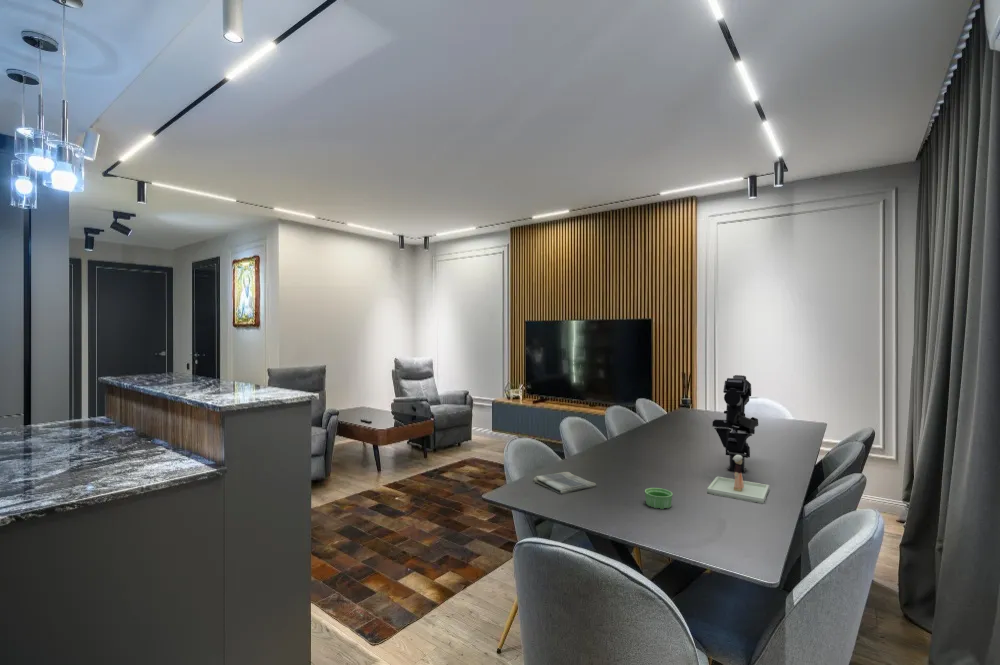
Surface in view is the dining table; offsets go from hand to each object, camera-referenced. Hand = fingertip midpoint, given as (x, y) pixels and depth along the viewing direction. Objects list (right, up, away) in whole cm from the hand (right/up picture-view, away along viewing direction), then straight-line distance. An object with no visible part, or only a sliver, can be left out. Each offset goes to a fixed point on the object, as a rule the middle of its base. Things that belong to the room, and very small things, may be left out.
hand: (732, 449), depth 188 cm
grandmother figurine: (-4, -12, -12) cm, 17 cm away
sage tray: (-4, -13, -12) cm, 18 cm away
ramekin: (-38, -13, -26) cm, 48 cm away
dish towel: (-67, -13, -5) cm, 68 cm away
